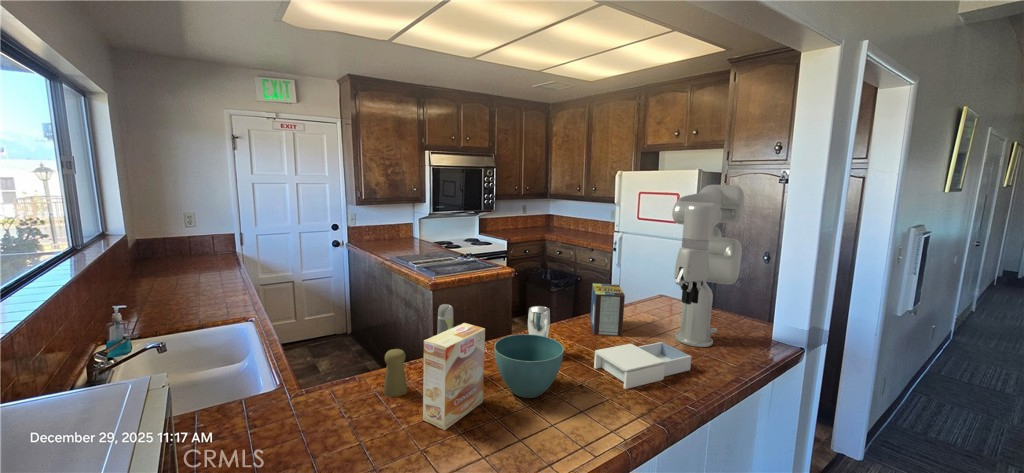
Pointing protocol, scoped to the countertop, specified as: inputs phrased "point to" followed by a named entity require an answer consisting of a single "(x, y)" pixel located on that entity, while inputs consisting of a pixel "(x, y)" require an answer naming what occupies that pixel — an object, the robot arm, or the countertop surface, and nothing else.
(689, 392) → the countertop surface
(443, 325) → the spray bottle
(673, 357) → the white sliding drawer box
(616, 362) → the sleeve
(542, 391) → the teal bowl
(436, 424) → the coffeecake box
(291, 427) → the countertop surface
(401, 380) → the olive green pepper shaker
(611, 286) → the protein box
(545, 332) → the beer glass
